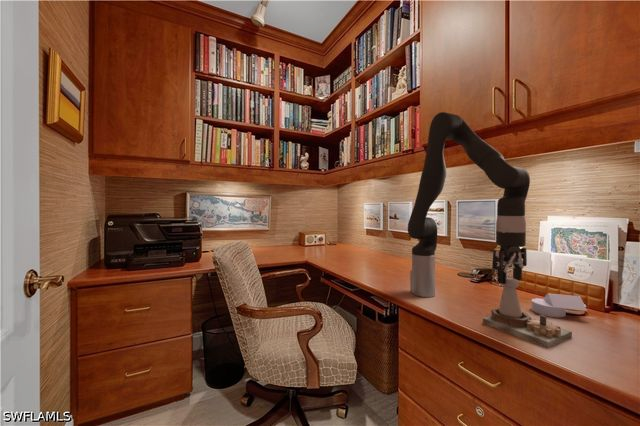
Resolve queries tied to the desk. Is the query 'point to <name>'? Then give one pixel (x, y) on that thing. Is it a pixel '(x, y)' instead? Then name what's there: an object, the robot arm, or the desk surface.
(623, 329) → the desk surface
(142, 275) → the desk surface
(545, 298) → the wedge on round base
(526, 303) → the desk surface
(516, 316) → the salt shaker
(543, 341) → the peg board
